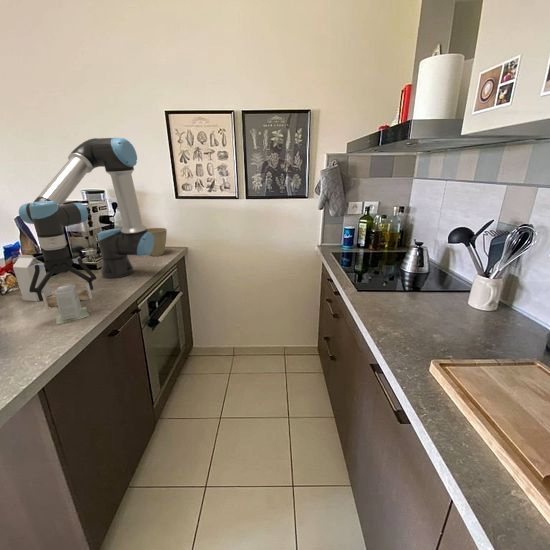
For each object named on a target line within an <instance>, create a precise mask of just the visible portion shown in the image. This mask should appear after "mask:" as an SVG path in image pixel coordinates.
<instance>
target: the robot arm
mask: <svg viewBox="0 0 550 550" xmlns="http://www.w3.org/2000/svg"><path fill="white" fill-rule="evenodd" d="M67 158H68V159H67V162H65V164H64V165H63V166H62V168H60V169H59V171H58V172H57V173H56V174H55V176H54V177H52V179H51V181H50V182H48V184H47V185H46V186H45V188H44V189H43V190H42V191H41V192H40V194H39V195H38V196H37V197H36V198H35V199H34V201H33V202H29V203H24V204H22V205H20V206H19V209H18V215H19V218H20V219H21V220H22V221H23V222H24V223H27V224H29V225H33V226H34V230H35V232H36V236H37V239H38V243H39V246H40V248H41V249H42V250H41V254H42V256H43V260H44V262H43V264H38V263H36V264H35V272H34V275H33V279H32V282H31V285H30V288H29V292H31V293H32V292H36V293H37V295H38V298H39V302H42V301H43V304H44V307H45V309H46V310H49V309H50V308H49V306H48V303H47V299H46V298H47V297H46V296H45V293H44V290H42V289H43V288H44V286H45V285H46V283H47V282H49V281H50V279H51V277H53V274H55V275H59V274H65V273H67V272H71V273H73V274H75V275H76V276H78V277H79V278H81V279H83V280H84V282H85V287H86V290H87V294H88V299H89V300H93V296H92V291H93V290H94V285H93V281H95V280H97V275H96V274H95V273H93V272H92V270H91V269H90V268H89V267H88V266H87V265H86V263H84V262H83V260H82V257H81V256H77V257H75V258H72V257H71V254H70V250H69V247H68V246H67V245H68V241H67V240H66V239H67V238H66V235H65V232H64V228H66V227H69V226H74V225H79V224H81V223H86V221H87V219H88V218H89V212H88V211H89V210H88V208H87V207H86V206H85V205H84V204H83V203H80V202H70V203H65V202H66V200H67V199H68V198H69V196H70V195H71V194H72V193H73V192H74V191H75V189H76V188H77V186H78V185H79V183H81V181H82V180H83V178H84V177H85V176H86V175H87V174H90V173H92V171H93V170H94V169H96V168H100V167H104V169H105V173H107V174H108V175H110V179H111V181H112V185H113V190H114V195H115V199H116V202H117V206H118V210H119V214H120V217H121V222H122V228H120V227H119V228H112V229H107V230H106V229H105V230H103V231H100V232H98V233H97V239H98V240H97V241H98V246H99V252H100V254H101V259H102V265H101V270H100V272H101V277H103V278H104V279H118V278H124V277H126V276H130V275H132V274H133V273H134V266H133V264H132V263H131V261H130V260H129V256H138V257H143V256H149V255H151V254H150V253H151V251H152V250H153V247H154V236H153V235H152V233H150V232H147V229H148V228H147V226H145V225H144V224H143V222H142V216H141V212H140V207H139V203H138V198H137V194H136V189H135V184H134V181H133V180H134V179H133V175H132V174H133V172H134V170H135V168H134V167H135V166H136V165H137V163H138V154H137V151H136V149H135V147H134V146H133V144H132V143H131V142H130V141H129V140H128V139H126V138H122V137H103V138H102V137H100V138H97V137H95V138H90V139H88V140H84V141H83V142H82V143H80V144H79V145H78V146H76V147H75V148H74V149H73V150H72V151H71V152H70V153H69V155H68V157H67ZM74 263H76V265H79V266H80V267H81V268H82V269H83V270H84V271H85V272H86V273H87V274H88V275H89V276H88V275H86V274H85V273H83V272H81V271H80V270H79V269H77V268H75V267H74V266H72V265H73V264H74ZM43 267H45V269H46V270H47V271H46V275H45V277H44V278H43V280H42V281H41V283H40V284H39V286H38V287H37V288H35V286H36V283H37V279H38V276H39V273H40V270H42V269H43Z"/></svg>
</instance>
